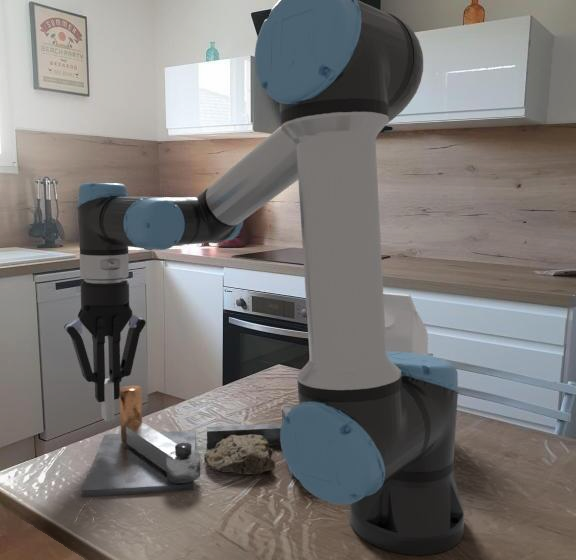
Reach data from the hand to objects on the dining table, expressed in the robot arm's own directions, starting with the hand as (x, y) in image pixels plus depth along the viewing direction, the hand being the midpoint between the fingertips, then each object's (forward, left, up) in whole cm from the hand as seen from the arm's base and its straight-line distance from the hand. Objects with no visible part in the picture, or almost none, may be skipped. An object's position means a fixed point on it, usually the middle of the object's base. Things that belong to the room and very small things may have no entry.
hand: (108, 418), depth 99 cm
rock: (-6, -22, -7) cm, 24 cm away
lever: (-6, -8, -5) cm, 11 cm away
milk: (+3, -50, -6) cm, 50 cm away
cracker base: (-5, -15, -6) cm, 17 cm away
